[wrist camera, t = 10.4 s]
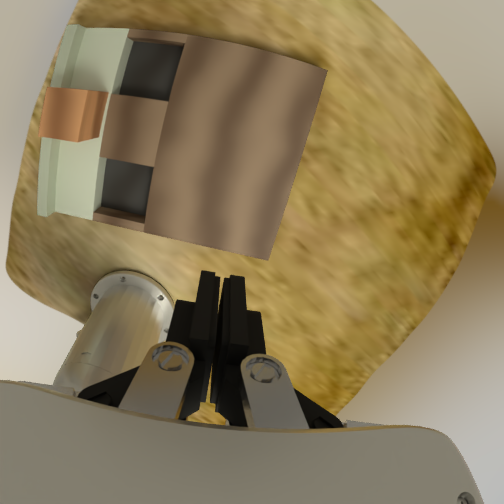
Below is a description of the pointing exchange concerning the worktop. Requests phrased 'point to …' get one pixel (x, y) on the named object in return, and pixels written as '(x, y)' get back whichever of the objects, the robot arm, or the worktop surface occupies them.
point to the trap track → (205, 140)
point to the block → (72, 114)
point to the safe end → (86, 152)
